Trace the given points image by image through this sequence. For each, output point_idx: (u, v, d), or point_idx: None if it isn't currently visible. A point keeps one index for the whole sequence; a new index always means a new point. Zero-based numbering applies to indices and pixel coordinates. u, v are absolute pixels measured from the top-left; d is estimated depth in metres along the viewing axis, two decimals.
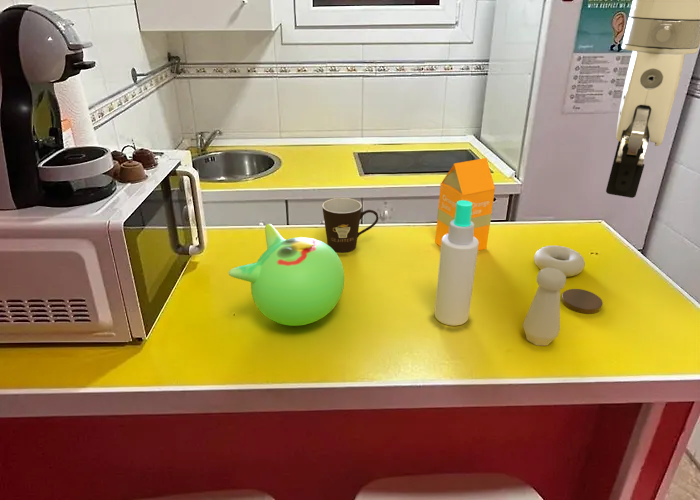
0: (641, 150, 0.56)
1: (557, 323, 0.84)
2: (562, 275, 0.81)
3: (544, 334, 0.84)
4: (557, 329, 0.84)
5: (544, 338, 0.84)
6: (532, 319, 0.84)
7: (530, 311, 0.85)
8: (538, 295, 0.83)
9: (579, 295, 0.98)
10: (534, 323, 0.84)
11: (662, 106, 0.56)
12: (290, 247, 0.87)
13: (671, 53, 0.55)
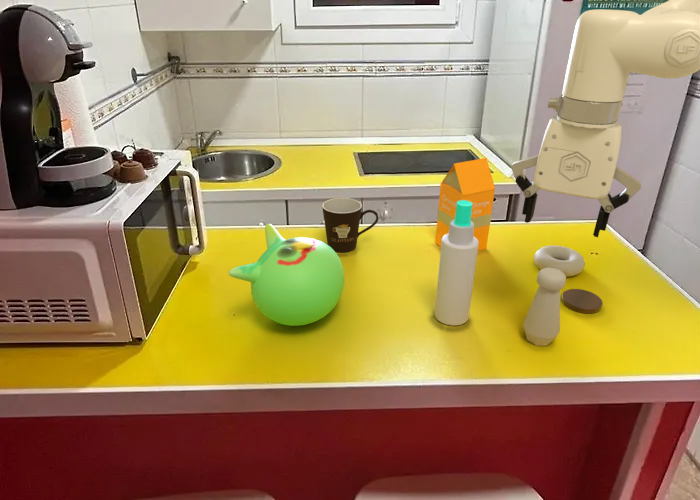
0: (518, 180, 0.77)
1: (557, 323, 0.84)
2: (562, 275, 0.81)
3: (544, 334, 0.84)
4: (557, 329, 0.84)
5: (544, 338, 0.84)
6: (532, 319, 0.84)
7: (530, 311, 0.85)
8: (538, 295, 0.83)
9: (579, 295, 0.98)
10: (534, 323, 0.84)
11: (538, 156, 0.73)
12: (290, 247, 0.87)
13: (556, 119, 0.71)
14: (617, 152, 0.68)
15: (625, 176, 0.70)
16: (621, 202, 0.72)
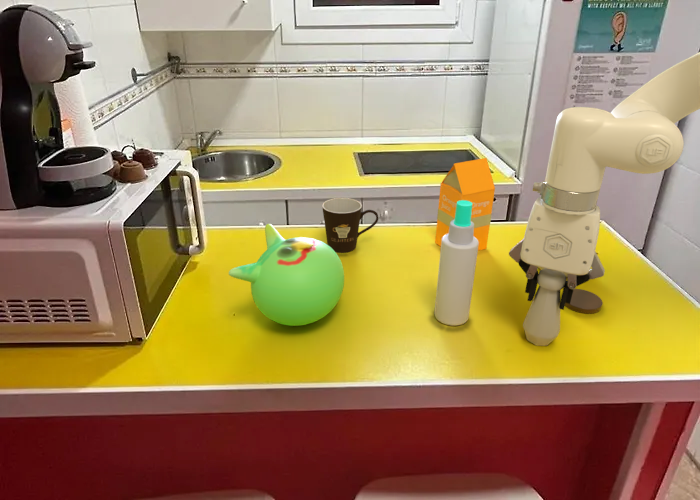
0: (521, 263, 0.82)
1: (557, 323, 0.84)
2: (562, 275, 0.81)
3: (544, 335, 0.84)
4: (557, 329, 0.84)
5: (544, 338, 0.84)
6: (532, 319, 0.84)
7: (530, 311, 0.85)
8: (538, 295, 0.83)
9: (579, 295, 0.98)
10: (534, 323, 0.84)
11: None
12: (290, 247, 0.87)
13: (540, 202, 0.77)
14: (596, 235, 0.74)
15: (596, 261, 0.77)
16: (583, 280, 0.79)
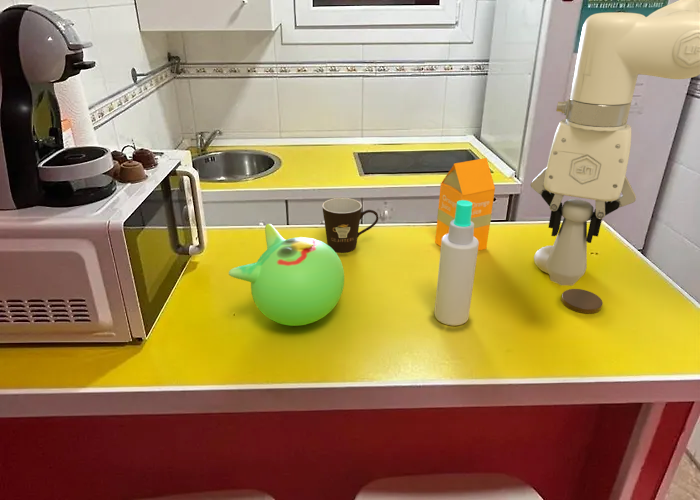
0: (543, 194, 0.77)
1: (584, 259, 0.78)
2: (589, 205, 0.75)
3: (570, 272, 0.78)
4: (584, 266, 0.78)
5: (570, 275, 0.78)
6: (556, 255, 0.78)
7: (554, 248, 0.79)
8: (563, 229, 0.77)
9: (579, 295, 0.98)
10: (559, 260, 0.78)
11: (548, 159, 0.73)
12: (290, 247, 0.87)
13: (565, 122, 0.71)
14: (627, 154, 0.68)
15: (627, 185, 0.71)
16: (612, 208, 0.73)
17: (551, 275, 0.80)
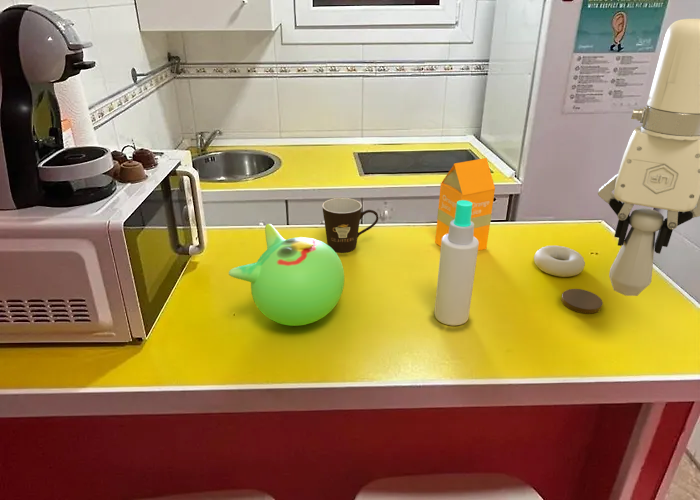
0: (612, 203, 0.75)
1: (651, 270, 0.76)
2: (660, 215, 0.73)
3: (637, 282, 0.76)
4: (650, 276, 0.77)
5: (636, 286, 0.76)
6: (622, 265, 0.77)
7: (620, 257, 0.77)
8: (631, 238, 0.75)
9: (579, 295, 0.98)
10: (625, 270, 0.77)
11: (620, 168, 0.72)
12: (290, 247, 0.87)
13: (640, 130, 0.69)
14: None
15: None
16: (685, 219, 0.71)
17: (615, 285, 0.79)
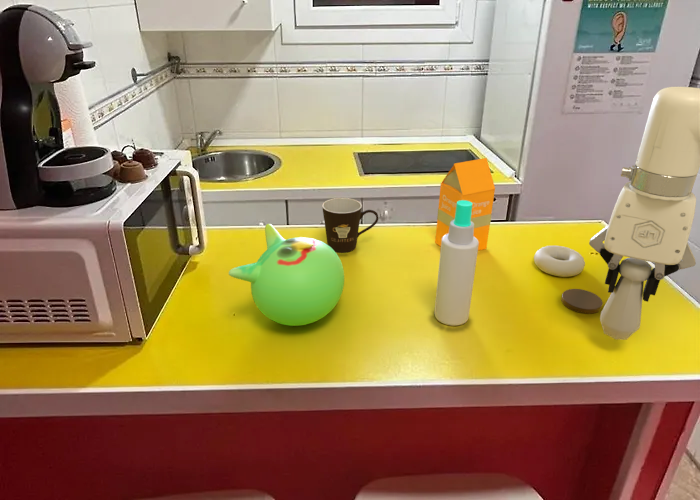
0: (602, 252, 0.79)
1: (639, 316, 0.80)
2: (648, 265, 0.77)
3: (626, 328, 0.80)
4: (639, 322, 0.80)
5: (626, 331, 0.80)
6: (612, 311, 0.81)
7: (610, 303, 0.81)
8: (620, 286, 0.79)
9: (579, 295, 0.98)
10: (615, 315, 0.80)
11: (610, 221, 0.75)
12: (290, 247, 0.87)
13: (629, 188, 0.73)
14: (691, 222, 0.70)
15: (688, 250, 0.73)
16: (671, 270, 0.75)
17: (605, 329, 0.82)
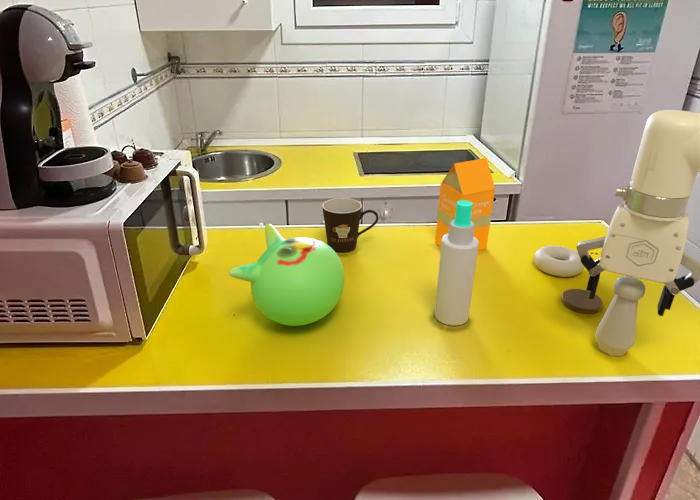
0: (583, 260, 0.81)
1: (634, 333, 0.82)
2: (642, 284, 0.79)
3: (621, 345, 0.81)
4: (633, 339, 0.82)
5: (620, 348, 0.82)
6: (607, 328, 0.82)
7: (605, 320, 0.83)
8: (615, 304, 0.81)
9: (579, 295, 0.98)
10: (610, 333, 0.82)
11: (605, 240, 0.77)
12: (290, 247, 0.87)
13: (624, 208, 0.74)
14: (685, 242, 0.72)
15: (691, 262, 0.74)
16: (687, 285, 0.75)
17: (601, 346, 0.84)
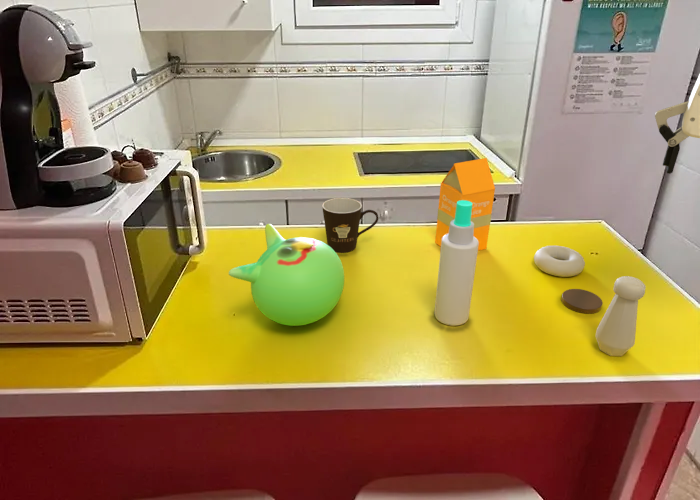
0: (662, 129, 0.75)
1: (634, 333, 0.82)
2: (642, 284, 0.79)
3: (621, 345, 0.81)
4: (633, 339, 0.82)
5: (620, 348, 0.82)
6: (607, 328, 0.82)
7: (605, 320, 0.83)
8: (615, 304, 0.81)
9: (579, 295, 0.98)
10: (610, 333, 0.82)
11: (690, 101, 0.72)
12: (290, 247, 0.87)
13: None
14: None
15: None
16: None
17: (601, 346, 0.84)
